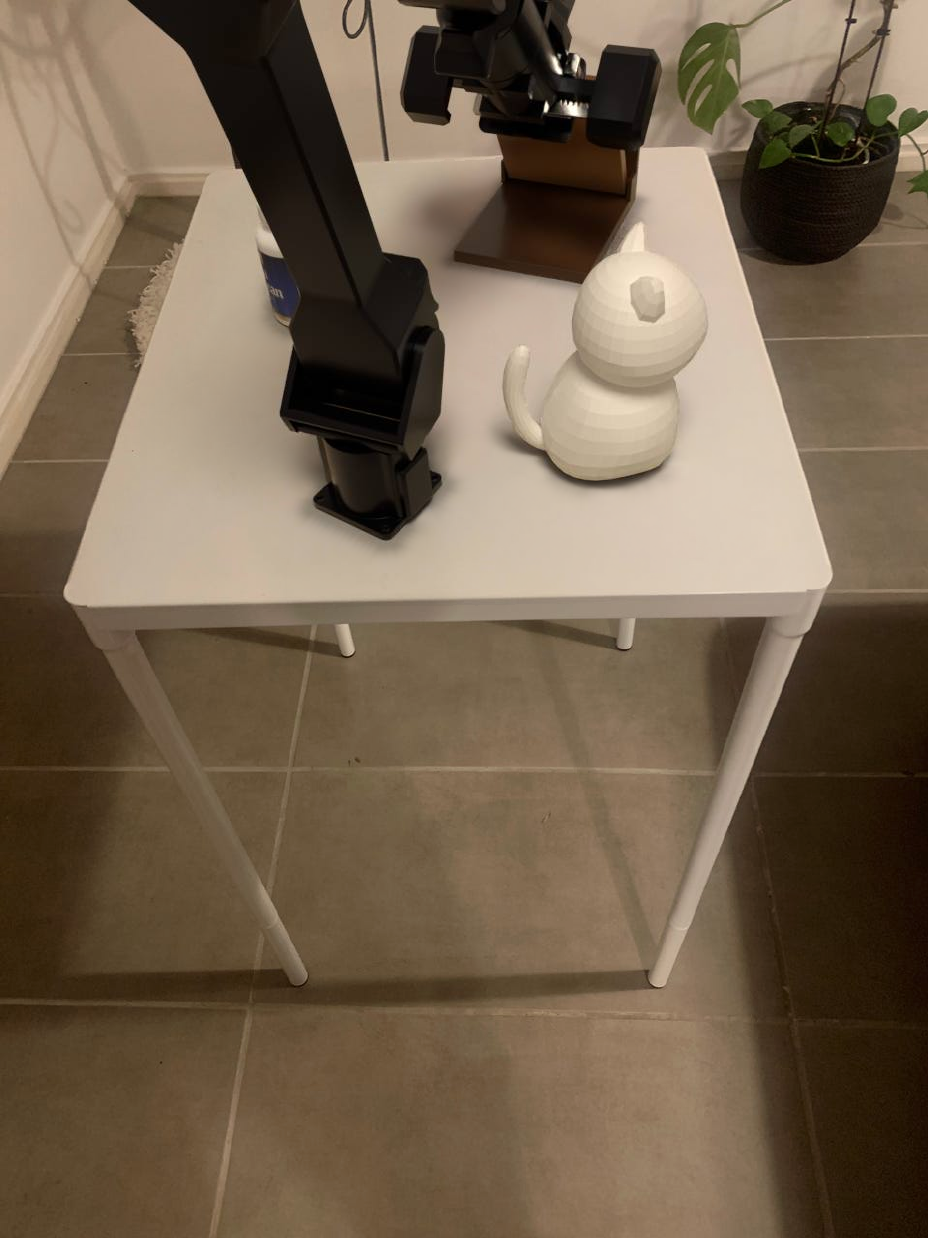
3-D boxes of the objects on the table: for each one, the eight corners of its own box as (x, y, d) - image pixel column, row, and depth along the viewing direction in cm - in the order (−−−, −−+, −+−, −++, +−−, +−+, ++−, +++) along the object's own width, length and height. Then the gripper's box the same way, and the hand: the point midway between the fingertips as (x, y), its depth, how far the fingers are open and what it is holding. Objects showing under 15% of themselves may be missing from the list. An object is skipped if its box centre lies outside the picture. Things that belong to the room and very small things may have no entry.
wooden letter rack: (615, 107, 72) (626, 75, 72) (483, 91, 75) (493, 60, 75) (625, 195, 83) (634, 166, 83) (508, 177, 86) (517, 150, 86)
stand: (589, 285, 77) (593, 215, 72) (452, 260, 80) (448, 192, 76) (636, 199, 85) (642, 132, 80) (510, 181, 88) (509, 114, 83)
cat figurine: (698, 491, 62) (738, 289, 50) (510, 506, 62) (505, 308, 50) (672, 403, 67) (703, 203, 56) (499, 417, 67) (493, 220, 56)
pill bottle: (262, 309, 77) (232, 195, 70) (317, 284, 79) (294, 170, 72) (296, 339, 75) (268, 223, 67) (352, 312, 76) (332, 196, 69)
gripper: (672, -87, 58) (691, 39, 73) (398, -105, 63) (468, 17, 78) (625, 102, 60) (653, 188, 74) (363, 70, 65) (438, 156, 79)
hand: (551, 132), depth 76 cm, fingers closed, pressing on wooden letter rack
